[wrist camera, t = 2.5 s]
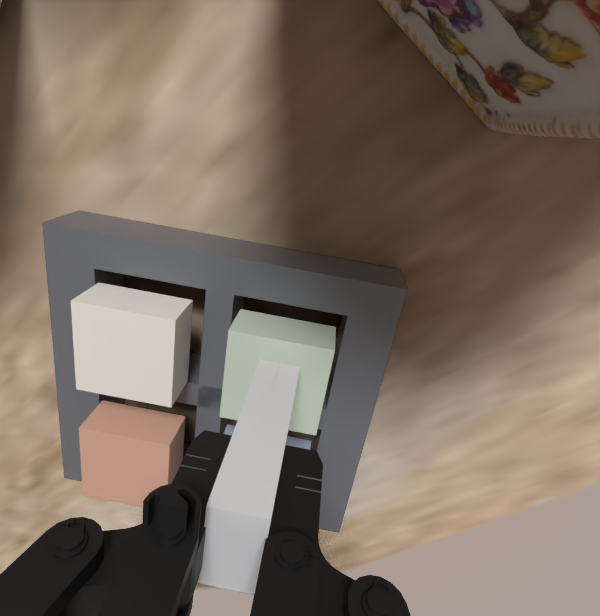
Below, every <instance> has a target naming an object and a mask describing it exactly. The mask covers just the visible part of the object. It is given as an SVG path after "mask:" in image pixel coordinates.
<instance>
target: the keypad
mask: <svg viewBox="0 0 600 616" xmlns="http://www.w3.org/2000/svg"><path fill="white" fill-rule="evenodd" d="M43 234H44V246H45V258H46V269H47V281H48V293H49V305H50V316H51V328H52V340H53V352H54V363H55V375H56V387H57V399H58V410H59V422H60V434H61V446H62V457H63V469H64V478H67V479H72V480H77V481H82V474H81V458H80V442H79V427H80V426H81V424H82V423H83V422H84V421H85V420H86V419H87V418H88V416H89V415H90V414H91V413H92V412H93V411H94V410H95V408H96V407H97V406H98V405H99V404H100V403H101V402H102V400H104V401H109V402H114V403H120V404H124V398H119V397H114V396H108V395H103V394H98V393H93V392H88V391H83V390H77V389H76V378H75V363H74V347H73V331H72V315H71V300H72V299H74V298H76V297H77V296H79V295H80V294H82V293H83V292H85V291H86V290H88V289H89V288H91V287H93V286H94V285H96V284H97V283H104V284H109V285H115V286H120V287H124V278H123V274H125V275H131V276H136V277H141V278H147V279H152V280H157V281H163V282H168V283H173V284H179V285H184V286H190V287H195V288H200V289H206V295H205V308H204V321H203V334H202V347H201V354H196V353H191V352H190V353H189V369H188V381H187V383H186V384H185V386H184V388H183V389H182V391H181V393H180V394H179V396H178V398H177V399H176V401H175V402H180V403H185V404H190V405H195V406H197V413H196V426H195V438H196V437H197V436H198V435H199V434H201V433H202V432H203V431H204V430H207V431H212V432H217V433H222V434H224V431H225V429H226V426H227V424H228V425H230V419H228V418H222V417H219V416H220V406H221V396H222V387H223V377H224V368H225V358H226V348H227V339H228V330H229V328H230V327H231V325H232V323H233V321H234V319H235V318H236V316H237V314H238V312H239V311H240V309H243V305H244V297H249V298H254V299H259V300H265V301H270V302H275V303H281V304H286V305H292V306H297V307H302V308H308V309H313V310H318V311H324V312H329V313H334V314H340V315H342V319H341V323H340V328H339V332H338V337H337V341H336V346H335V353H334V357H333V362H332V366H331V371H330V375H329V380H328V384H327V389H326V393H325V398H324V402H323V407H322V411H321V416H320V420H319V425H318V429H317V434H316V436H315V441H314V445H313V450H314V451H317V452H318V454H319V456H320V459H321V461H322V464H323V473H322V488H321V503H320V517H319V529H324V530H329V531H334V532H339V531H340V527H341V524H342V520H343V517H344V513H345V510H346V506H347V502H348V499H349V495H350V492H351V488H352V485H353V481H354V478H355V474H356V471H357V467H358V464H359V460H360V457H361V453H362V449H363V446H364V442H365V439H366V435H367V432H368V428H369V425H370V421H371V418H372V414H373V411H374V407H375V404H376V400H377V396H378V393H379V389H380V386H381V382H382V379H383V375H384V372H385V368H386V365H387V361H388V358H389V354H390V350H391V347H392V343H393V340H394V336H395V333H396V329H397V326H398V322H399V319H400V315H401V312H402V308H403V305H404V301H405V297H406V294H407V290H408V289H407V287H406V284H405V281H404V279H403V276H402V273H401V271H400V269H395V268H390V267H384V266H379V265H373V264H368V263H362V262H357V261H351V260H346V259H341V258H335V257H330V256H324V255H319V254H313V253H308V252H302V251H297V250H291V249H286V248H281V247H275V246H270V245H264V244H259V243H253V242H248V241H242V240H237V239H231V238H226V237H221V236H215V235H210V234H204V233H199V232H193V231H188V230H182V229H177V228H171V227H166V226H161V225H155V224H150V223H144V222H139V221H133V220H128V219H122V218H117V217H111V216H106V215H101V214H95V213H90V212H84V211H76V212H73V213H70V214H67V215H64V216H60V217H57V218H54V219H51V220H48V221H45V222H43ZM190 444H191V443H187V442H184V448H183V459H184V457H185V456H186V453H187V451H188V449H189V446H190Z"/></svg>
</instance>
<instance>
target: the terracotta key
mask: <svg viewBox="0 0 600 616" xmlns="http://www.w3.org/2000/svg"><path fill="white" fill-rule="evenodd" d="M184 432H185V416H182V415H176V414H171V413H166V412H161V411H156V410H151V409H145V408H140V407H135V406H130V405H125V404H120V403H114V402H109V401H104V400H102V402H101V403H100V404H99V405H98V406H97V407H96V408H95V410H94V411H93V412H92V413H91V414H90V415H89V416H88V418H87V419H86V420H85V421H84V422H83V423H82V424H81V426H80V427H79V442H80V458H81V474H82V490H83V495H84V496H89V497H94V498H99V499H104V500H109V501H114V502H119V503H124V504H129V505H134V506H139V507H143V501H144V499H145V498H146V497H147V496H148V494H149V493H150V492H152V491H153V490H155V489H157V488H158V487H160V486H164V485H168V484H171V483H172V481H173V479H174V477H175V475H176V473H177V471H178V469H179V467H180V466H181V463H182V461H183V448H184Z"/></svg>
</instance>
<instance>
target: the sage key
mask: <svg viewBox="0 0 600 616" xmlns="http://www.w3.org/2000/svg"><path fill="white" fill-rule="evenodd" d="M335 339H336V327H334V326H329V325H323V324H318V323H313V322H307V321H302V320H297V319H291V318H286V317H281V316H275V315H270V314H264V313H259V312H254V311H248V310H243V309H240V311H239V312H238V314H237V316H236V318H235V319H234V321H233V323H232V325H231V327H230V328H229V330H228V339H227V348H226V358H225V368H224V377H223V387H222V396H221V406H220V416H219V417H222V418H228V419H233V420H238V418H239V415H240V413H241V410H242V407H243V404H244V402H245V399H246V396H247V394H248V391H249V388H250V385H251V383H252V380H253V377H254V374H255V372H256V369H257V366H258V364H259V361H260V360H263V361H269V362H274V363H279V364H284V365H289V366H295V367H300V371H299V376H298V381H297V387H296V392H295V397H294V403H293V408H292V413H291V419H290V424H289V429H288V430H290V431H295V432H300V433H305V434H310V435H316V434H317V429H318V425H319V420H320V416H321V411H322V407H323V402H324V398H325V393H326V389H327V384H328V380H329V375H330V371H331V366H332V362H333V357H334V353H335Z"/></svg>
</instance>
